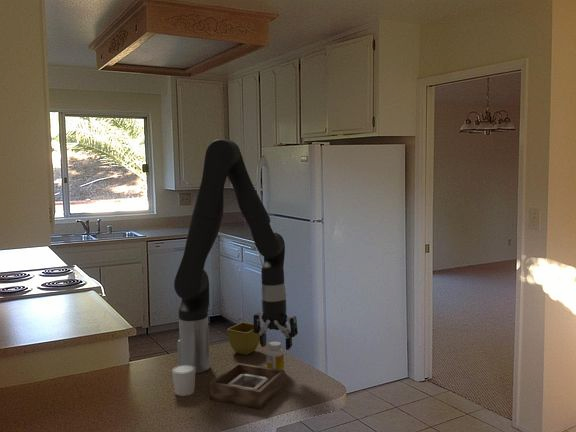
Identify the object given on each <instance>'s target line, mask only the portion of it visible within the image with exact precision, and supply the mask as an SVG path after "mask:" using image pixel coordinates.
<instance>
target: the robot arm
mask: <svg viewBox="0 0 576 432" xmlns="http://www.w3.org/2000/svg"><path fill="white" fill-rule="evenodd" d="M227 178H228V180H229V182H230V184H231V187H232V188H233V191H234V194H235V199H236V201H237V204H238V208H239V210H240V212H241V214H242V216H243V218H244V221H245V222H246V224H247V226H248V228H249V229H250V232H251V236H252V239H253V243H254V246H255V247H256V249H257V252H258V253H259V254H260V255H261V256H262V257H263V264H262V267H261V272H260V273H261V276H260V277H261V308H262V309H261V310H262V314H261V313H260V312H257V313H256V314H254V315H253V324H254V325H253V331H254V333H257V334H259V337H260V341H259V344H260V347H261V348H265V347H266V346H267V334H266V333H267V331H268V330H275V331H280V333H281V334H283V335H284V336H285V338H284V339H285V350H286V351H289V350H291V348H292V346H293V338H294V337H296V336H297V335H298V332H299V331H298V323H297V317H296V316H295V315H293V316H288V315H287V293H286V286H285V271H284V266H285V265H284V264H285V255H286V254H285V253H286V245H285V244H286V243H285V239H284V237H283V236H282V235H281V234H280V233H278V232H274V230H273V229H272V227H271V218H270V215H269V214H268V211H267V210H266V207H265V205H264V204H263V202H262V201H261V200H262V199H260V196H259V194H258V192H257V191H256V189H255V187H254V184H253V182H252V180H251V177H250V175H249V173H248V170H247V168H246V164H245V162H244V157H243V155H242V152H241V150H240V147H239V145H238V144H237V143H236V142H234V141H233V140H229V139H223V138H221V139H220V138H219V139H215V140H213V141H211V143H209V144H208V146H207V148H206V151H205V155H204V162H203V170H202V177H201V182H200V185H199V189H198V193H197V195H196V200H195V204H194V207H193V211H192V215H191V220H190V223H189V227H188V232H187V236H186V242H185V247H184V252H183V255H182V258H181V261H180V264H179V267H178V270H177V272H176V275H175V278H174V282H173V286H174V287H173V288H174V292H175V293H176V295H177V296H178V297H179V298H180V299H181V303H180V306H179V309H178V326H179V327H178V328H179V339H178V340H177V342H176V343H177V345H176V346H177V347H176V348H177V363H178V364H177V366H180V365H192V366H195V367H196V369H195V374H199V373H200V374H201V373H204V372H206V371H208V370H209V369H210V368H211V367H210V363H211V361H210V342H209V341H210V339H209V313H208V312H209V306H210V280H209V276H208V273H207V271H206V270H205V265H206V261H207V258H208V256H209V253H210V251H211V250H212V248H213V246H214V243H215V241H216V240H217V237H218V235H219V231H220V228H221V225H222V221H223V218H224V217H223V216H224V206H225V204H224V203H225V202H224V190H225V184H226V181H227ZM261 321H263V323H264V324H263V326H261ZM287 323H288V324H289V325H288V324H287ZM260 326H261V329H260Z"/></svg>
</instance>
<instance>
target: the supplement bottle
mask: <svg viewBox="0 0 576 432" xmlns="http://www.w3.org/2000/svg"><path fill="white" fill-rule="evenodd" d="M267 345H268V349H267V350H266V353H265V355H266V367H267V368H273V369H279V370H285V363H284V362H285V361H284V358H285V357H284V350H283V349H282V342H280V341H270V342H268V344H267Z"/></svg>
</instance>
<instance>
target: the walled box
mask: <svg viewBox="0 0 576 432" xmlns="http://www.w3.org/2000/svg"><path fill="white" fill-rule="evenodd" d="M285 372H286V370H285V369H284V370H279V369H273V368H267V366H260V365H259V366H258V365H254V364H253V365H252V364H247V363H240V362H237V363H235V364H234V365H233V366H231V367H230V368H229V369H227V370H226V371H224V372H223V373H221V374H220V375H219V376H217V377H216V378H214V379H213V380H211V382H209V400H210V401H215V402H220V403H222V404H230V405H233V406H240V407H245V408H250V409H255V410H262V409H263V408H264V407H265V406H266V405H267V404H268V403H269V402H271V400H272V399H273V398H274V397H276V396H277V395H278V394H279V393H280V392H281V391H282V390H283V389H284V388H286V376H285V374H286V373H285Z"/></svg>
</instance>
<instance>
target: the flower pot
mask: <svg viewBox="0 0 576 432" xmlns="http://www.w3.org/2000/svg"><path fill="white" fill-rule="evenodd" d="M253 325H254V323H249V322H239V323H238V324H235V325H233V326H231V327H228V328H227V334H228V335H227V336H228V341H229V344H230V346H231V349H232V350H233V351H234V352H235V353H237V354H241V355H245V356H247V355H249V354H251V353H253V352H254V351H256V350H257V347H259V344H260V337H259V334H257V333H254V331H253ZM261 328H262V325H260V329H261Z"/></svg>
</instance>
